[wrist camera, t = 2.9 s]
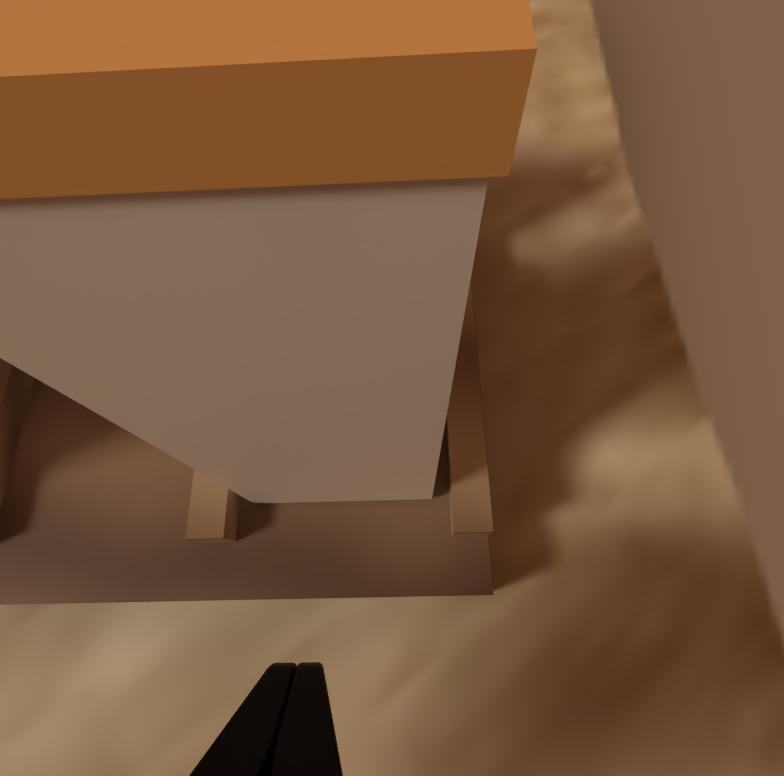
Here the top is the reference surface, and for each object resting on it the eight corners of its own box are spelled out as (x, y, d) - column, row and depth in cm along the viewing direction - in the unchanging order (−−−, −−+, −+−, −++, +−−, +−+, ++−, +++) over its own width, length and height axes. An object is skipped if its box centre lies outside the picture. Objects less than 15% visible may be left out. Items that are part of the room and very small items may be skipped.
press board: (484, 594, 15) (540, 594, 8) (-224, 608, 16) (-710, 618, 9) (454, 218, 21) (474, 27, 14) (-78, 241, 21) (-316, 70, 14)
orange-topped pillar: (435, 502, 14) (538, 47, 2) (250, 507, 14) (-501, 103, 3) (427, 336, 16) (462, -365, 4) (264, 342, 16) (-130, -321, 5)
